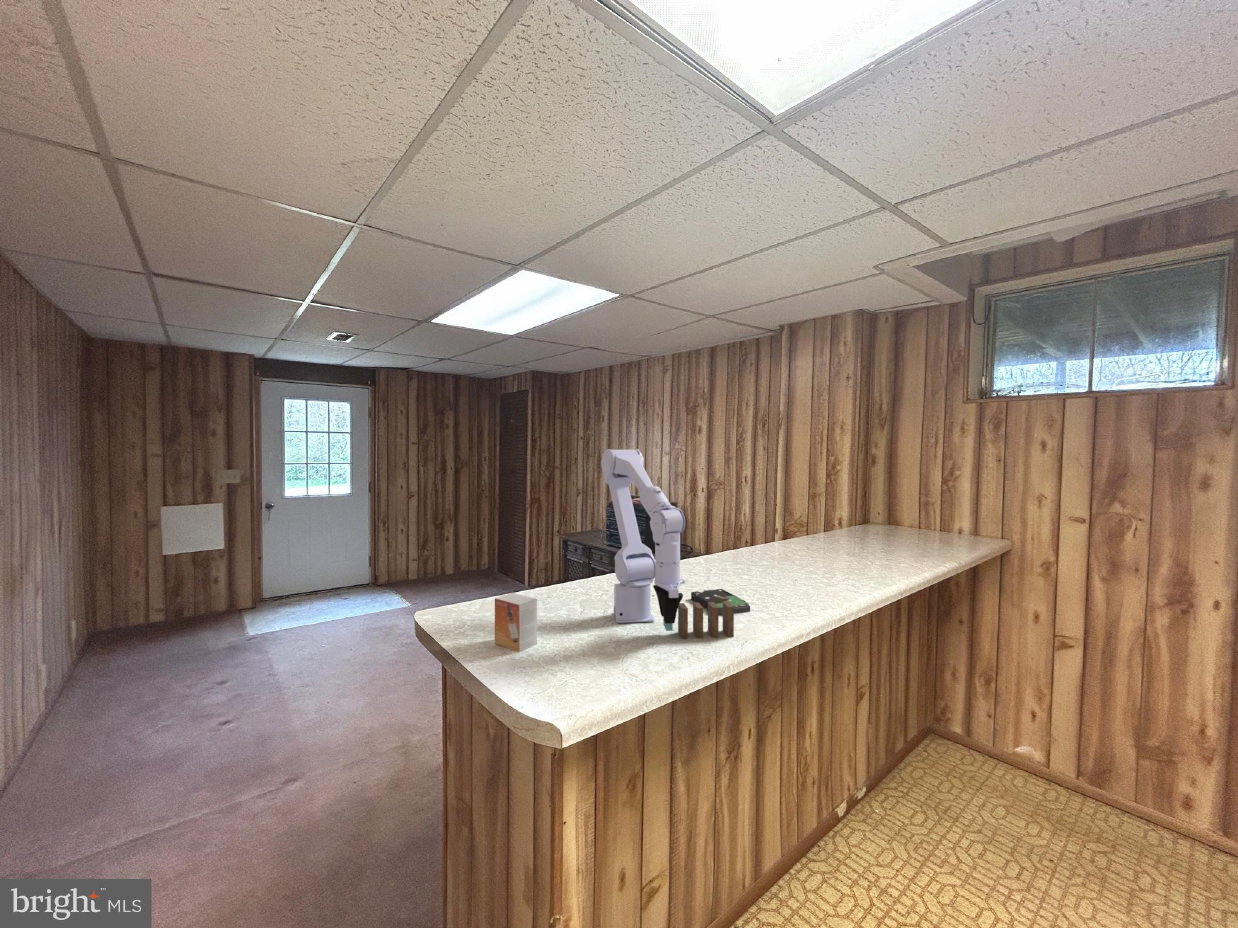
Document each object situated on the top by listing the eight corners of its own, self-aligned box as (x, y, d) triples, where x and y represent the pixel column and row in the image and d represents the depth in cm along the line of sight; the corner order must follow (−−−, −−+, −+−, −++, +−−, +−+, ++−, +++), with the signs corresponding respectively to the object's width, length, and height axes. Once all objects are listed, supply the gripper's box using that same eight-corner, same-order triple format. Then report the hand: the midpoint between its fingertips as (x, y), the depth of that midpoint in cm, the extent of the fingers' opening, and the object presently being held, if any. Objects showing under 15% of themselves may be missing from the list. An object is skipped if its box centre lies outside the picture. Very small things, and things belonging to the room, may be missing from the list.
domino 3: (712, 637, 114) (712, 607, 114) (707, 631, 118) (707, 602, 118) (718, 637, 115) (718, 607, 114) (713, 630, 119) (713, 601, 118)
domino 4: (727, 636, 115) (727, 607, 114) (722, 630, 119) (722, 601, 118) (733, 636, 115) (733, 606, 115) (728, 630, 119) (728, 601, 119)
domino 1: (681, 638, 114) (681, 608, 113) (678, 632, 118) (678, 603, 117) (687, 638, 114) (687, 608, 114) (683, 632, 118) (683, 602, 118)
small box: (494, 644, 111) (493, 597, 111) (512, 636, 116) (512, 591, 115) (519, 652, 107) (518, 604, 106) (537, 644, 111) (537, 597, 111)
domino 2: (697, 638, 114) (697, 608, 114) (693, 631, 118) (693, 602, 118) (703, 638, 114) (703, 608, 114) (698, 631, 118) (698, 602, 118)
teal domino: (669, 624, 117) (669, 594, 117) (672, 630, 113) (672, 600, 113) (663, 624, 117) (663, 595, 117) (666, 630, 113) (666, 600, 113)
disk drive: (690, 601, 142) (717, 618, 129) (690, 591, 142) (717, 607, 128) (721, 597, 146) (751, 613, 132) (721, 588, 146) (751, 602, 132)
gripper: (692, 568, 108) (692, 630, 108) (678, 553, 122) (678, 608, 123) (660, 569, 107) (660, 631, 108) (649, 554, 122) (649, 609, 122)
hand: (667, 619), depth 115 cm, fingers closed on teal domino, 4 cm apart
